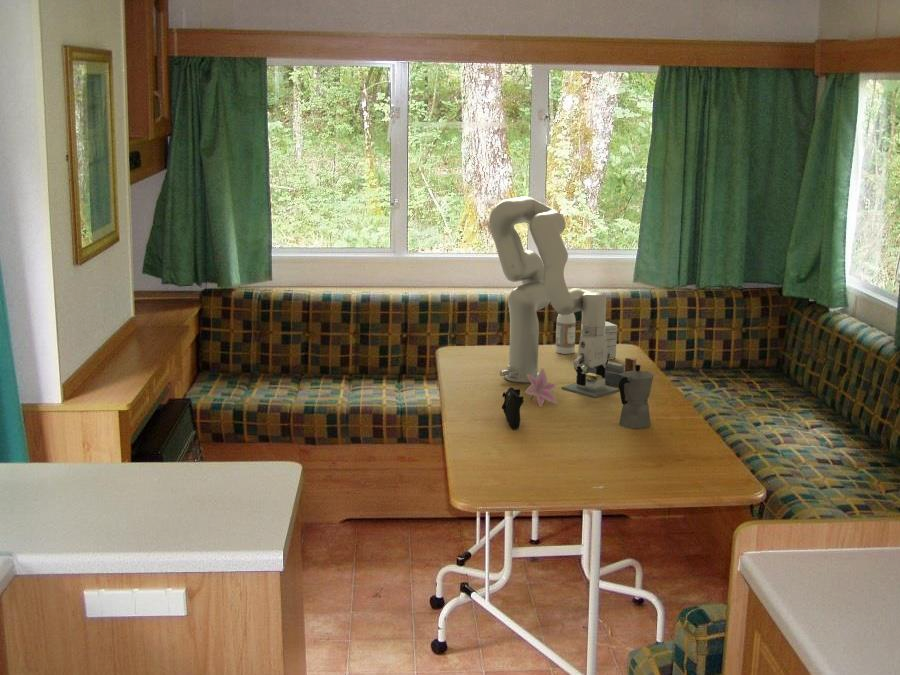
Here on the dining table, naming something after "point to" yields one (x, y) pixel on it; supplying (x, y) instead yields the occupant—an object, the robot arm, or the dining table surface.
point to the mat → (590, 393)
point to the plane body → (615, 370)
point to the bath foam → (565, 334)
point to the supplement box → (611, 338)
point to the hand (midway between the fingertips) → (590, 382)
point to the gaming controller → (512, 407)
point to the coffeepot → (635, 398)
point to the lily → (541, 388)
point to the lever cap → (593, 382)
